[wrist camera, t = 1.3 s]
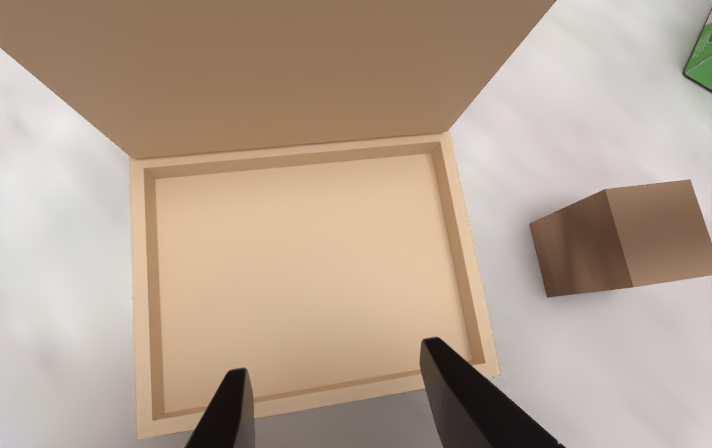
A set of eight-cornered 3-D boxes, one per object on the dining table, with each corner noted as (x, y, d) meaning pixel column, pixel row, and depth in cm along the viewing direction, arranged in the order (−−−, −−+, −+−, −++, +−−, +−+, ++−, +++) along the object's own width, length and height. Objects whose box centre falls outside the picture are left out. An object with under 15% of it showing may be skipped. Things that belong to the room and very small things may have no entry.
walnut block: (615, 287, 22) (721, 273, 17) (547, 297, 22) (633, 287, 16) (595, 215, 23) (690, 179, 18) (529, 224, 23) (605, 189, 17)
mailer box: (482, 370, 21) (501, 375, 19) (154, 427, 18) (136, 440, 16) (437, 145, 23) (449, 129, 21) (145, 172, 21) (129, 157, 19)
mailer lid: (588, -39, 10) (583, -58, 11) (-80, -20, 8) (-79, -45, 8) (447, 131, 21) (445, 120, 21) (132, 158, 19) (132, 146, 19)
